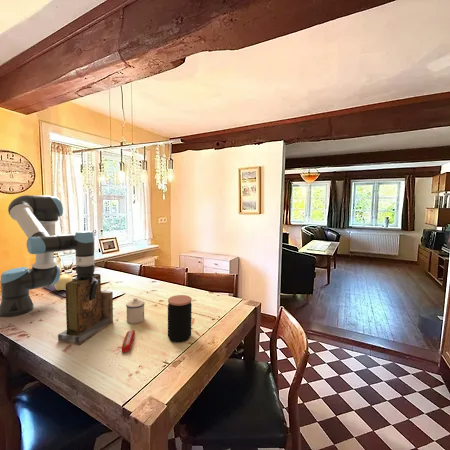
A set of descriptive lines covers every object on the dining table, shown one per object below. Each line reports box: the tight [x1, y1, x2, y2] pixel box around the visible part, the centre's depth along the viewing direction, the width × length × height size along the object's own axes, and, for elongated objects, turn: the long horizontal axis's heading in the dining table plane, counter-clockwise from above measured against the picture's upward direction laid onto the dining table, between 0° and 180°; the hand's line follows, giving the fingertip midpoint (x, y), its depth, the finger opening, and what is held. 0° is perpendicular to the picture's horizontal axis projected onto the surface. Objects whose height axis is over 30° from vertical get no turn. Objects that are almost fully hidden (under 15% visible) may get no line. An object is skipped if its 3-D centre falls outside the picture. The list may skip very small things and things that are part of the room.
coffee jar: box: [167, 294, 193, 344], centre depth 116 cm, size 11×11×18 cm
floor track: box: [57, 290, 114, 346], centre depth 120 cm, size 11×22×16 cm, turn 167°
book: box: [65, 273, 102, 336], centre depth 119 cm, size 16×6×25 cm, turn 167°
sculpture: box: [54, 273, 74, 291], centre depth 176 cm, size 11×12×11 cm
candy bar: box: [121, 329, 136, 353], centre depth 111 cm, size 16×4×3 cm, turn 12°
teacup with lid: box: [125, 297, 146, 325], centre depth 133 cm, size 12×9×12 cm
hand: (86, 313), depth 119 cm, fingers closed
